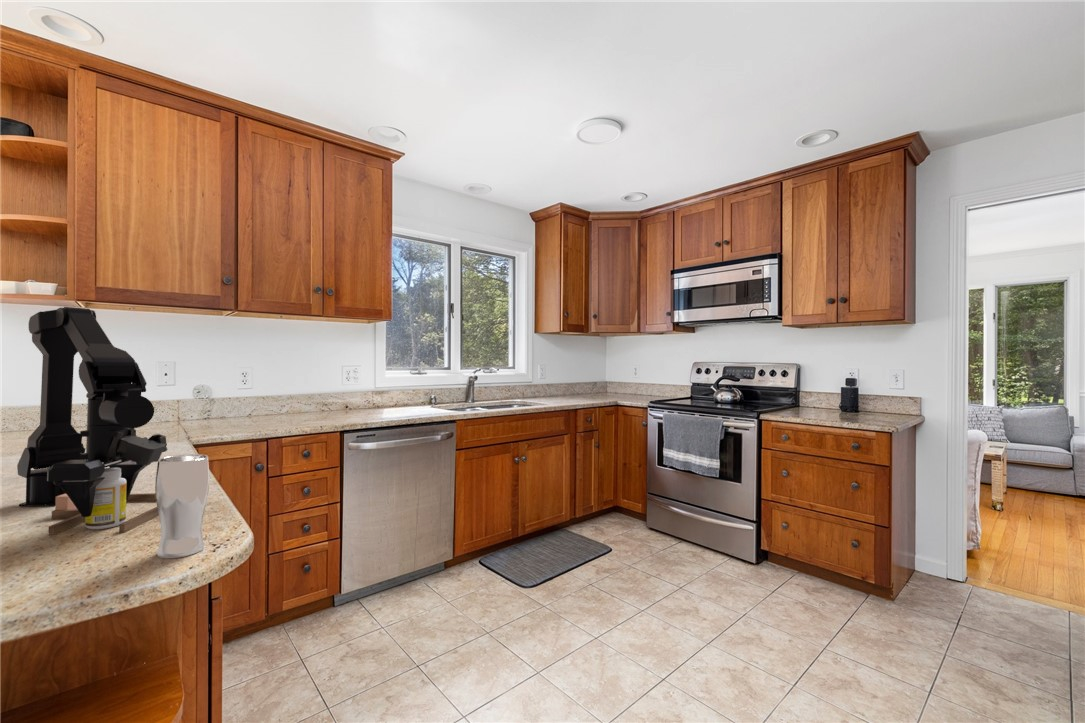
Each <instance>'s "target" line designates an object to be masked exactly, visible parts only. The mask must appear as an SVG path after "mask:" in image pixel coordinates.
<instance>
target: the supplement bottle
mask: <svg viewBox="0 0 1085 723" xmlns="http://www.w3.org/2000/svg"><path fill="white" fill-rule="evenodd" d="M101 477H105V478H104V479H103V480H102V481H101V482H100V483H99V484H98V485H97V486H96V489H95V496H94V503H93V509H92V514H91V516H89V517H85V522H84V524H85V528H87V529H88V530H104V529H111V528H114V527H117V526H118V527H119V524H121V523H123V522H125V521H127V520H126V519H127V517H126V516H127V502H126V483H127V482H126V479H125V478H121V468H109V467H106V468H105V471H104V473H103V474H102V476H101Z"/></svg>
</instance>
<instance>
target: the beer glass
mask: <svg viewBox="0 0 1085 723" xmlns="http://www.w3.org/2000/svg"><path fill="white" fill-rule="evenodd" d="M154 487H155V488H154V493H155V497H156V501H155V503H156V507H157V510H158V519H159V525H160V539H159V544H158V548H157V552H156V554H157V555H156V556H157V557H158V558H160V559H166V560H167V559H170V560H171V559H179V558H185V557H189V556H192V555H195V554H197V553H200V552H201V551H202V550H204V549H205V543H204V542H205V541H204V538H203V530H202V529H203V528H202V527H203V526H202V525H203V519H204V515H205V511H206V510H205V509H206V505H207V501H208V495H209V490H210V466H209V455H207V454H199V453H197V454H196V453H193V454H191V453H190V454H179V455H178V454H177V455H171V456H165V457H160V458H159V460H158V461H157V467H156V474H155V485H154Z"/></svg>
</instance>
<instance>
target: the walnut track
mask: <svg viewBox="0 0 1085 723" xmlns="http://www.w3.org/2000/svg"><path fill="white" fill-rule="evenodd" d="M130 502H131V503H135V502H137V503H141V502H156V497H155V492H151V493H150V492H149V493H130V495H129V498H128V500H127V501H126V503H130ZM156 517H159V515H158V510H157V506H155V507H153V508H150V509H149V510H147V511H145V512H142V513H141V514H138V515H136V516H134V517H132V518H129V519H127V520H125V522H123V523H121V524H119V525H118V527H119V529H118V530H119V532H118V533H119V534H122V533H123V534H125V533H127V532H129V531H131V530H132V529H134V528H136V527H138V526H140V525H143V524H145V523H146V522H148V521H150V520H152V519H155V518H156ZM51 520H61V521H59V522H56V523H54V524H51V525H49V526H48V530H47V532H48V534H47V535H48V536H55V535H57V534H59V532H60V533H62V532H64V531H66V530H68V529H71V528H73V527H76V526H79V525H81V524H82V523H85V517H83V516H82V515H81V514H80V512H79V511H78V509H71V510H55V509H54V510H51Z"/></svg>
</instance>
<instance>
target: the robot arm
mask: <svg viewBox="0 0 1085 723" xmlns="http://www.w3.org/2000/svg"><path fill="white" fill-rule="evenodd" d="M28 331H29V333H30V334H31V341H32V343H33V345H34V346H35V347H36V349H38V350H39V352H40V353H41V354H42V364H41V365H42V366H41V369H42V370H41V387H40V388H41V390H40V410H39V411H40V414H39V425H38V426H37V427H36V429H34V431H33V432H32V433H31V434H30V435H29V436H28V438H27V443H26V444H27V446H26V447H25V448H24V449H23V452H22V454H21V455H20V458H19V460H18V463H17V465H16V466H17V468H16V469H17V475H18V476H20V477H22V478H25V480H26V484H25V501H23V502H21V503H18V507H45V506H46V507H51V506H52V507H53V506H55V505H56V497H57V496H60V495H63V494H67V495H68V497H69V498H70V499H71V501H72V502H73V504H74V505H75V507H76V508H77V509H78V511H79V512H80V514H81V515H82V516H83V517H89V516H91V514H92V509H93V503H94V496H95V489H96V486H97V485H98V484H99V483H100V482H101V481H102V480H103V479H104V478H105V477H101V476H102V474H103V473H104V471H105V468H121V478H125V479H126V482H127V483H126V501H127V500H128V498H129V495H130V494H132V493H131V492H132V490H133V487H134V485H135V482H136V480H137V478H138V476H139V474H140V472H141V471H142V470H144V469H145V468H146V467H149V465H151V464H152V463H158V460H159V459H161V456H162V454H163V453H164V452H165V453H166V452H167V451H168V447H167V445H168V444H167V436H166V435H163V434H160V433H156V434H152V435H151V436H150V437H149V438H148V437H145V436H144V437H141V436H137V430H136V428H141V427H143V426H145V425H147V424H148V423H149V422H150V421H151V420H152V419H153V417H154V414H155V407H154V406H153V405H154V404H153V403H152V402H151V400H149V399H148V398H147V397H145V396H143V395H142V393H146V392H147V387H146V386H147V381H146V379H145V377H144V374H143V372H142V371H141V369H140V366H139V363H137V361H135V359H134V358H133V357H132V355H131V354H129V352H127V351H126V350H124V349H121V348H118V347H115V345H113V343H112V342H111V340H110V339H109V337H108V335H107V334H106V332H105V331H104V329H103V328H102V326H101V324H100V323H99V322H98V319H97V314H96V311H95V310H93V309H90V308H85V307H83V308H82V307H72V306H64V307H58V308H56V309H53V310H44V311H39V312H37V313H34V314H33V315H31V316H30V317H29V321H28ZM76 354H79V356H80V357H81V359H82V360H81V362H80V364H79V366H78V378H79V380H80V381H81V383H82V385H83V387H84V389H85V390H86V392H87V393H86V398H87V413H86V415H87V417H86V420H87V421H86V429H83V430H79V432H78V431H77V430H76V429H75V428H74V426H73V425H72V412H73V411H72V409H73V390H74V367H75V366H74V364H75V363H74V362H75V355H76ZM85 437H86V443H85V444H86V448H85V447H84V444H83V438H85Z"/></svg>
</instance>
